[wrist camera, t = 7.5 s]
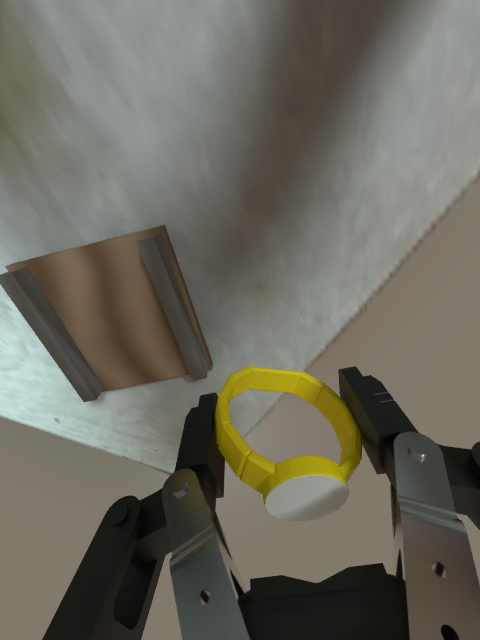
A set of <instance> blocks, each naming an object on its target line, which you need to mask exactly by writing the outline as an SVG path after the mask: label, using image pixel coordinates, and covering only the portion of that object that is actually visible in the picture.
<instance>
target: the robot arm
mask: <svg viewBox="0 0 480 640" xmlns="http://www.w3.org/2000/svg"><path fill="white" fill-rule="evenodd" d="M339 388H340V397H341V399H342V400H343V401H344V402H345V403H346V405H347V406H348V408H349V410H350V412H351V414H352V416H353V418H354V420H355V422H356V424H357V426H358V428H359V431H360V432H361V434H362V444H363V446H364V448H365V451H366V452H367V455H368V457H369V458H370V461H371V463H372V465H373V467H374V469H375V471H376V473H377V474H384V473H386V475H387V476H388V478H389V480H390V482H391V486H390V490H391V511H392V531H393V575H391V574H387V573H386V571H385V568H384V565H383V563H379V564H371V565H362V566H354V567H348V568H346V569H345V570H343V571H341V572H339V573H337V574H335V575H333V576H331V577H329V578H327V579H325V580H324V581H322V582H320V583H312V582H308V581H304V580H300V579H295V578H291V577H286V576H282V575H279V576H272V577H263V578H255V579H250V586H251V590H249V591H247V592H246V589H245V586H244V584H243V581H242V579H241V576H240V574H239V572H238V570H237V567H236V565H235V563H234V560H233V558H232V555H231V552H230V549H229V546H228V544H227V541H226V538H225V535H224V533H223V530H222V527H221V525H220V522H219V519H218V516H217V514H216V512H215V507H216V498H221V497H224V470H225V458H224V457H223V455H222V454H221V452H220V451H219V449H218V447H219V445H217V444H216V435H215V425H214V416H215V411H216V406H217V401H218V396H217V394H216V393H210V394H205V395H201V396H200V400H199V406H198V407H195V408H192V409H191V410H190V412H189V413H188V415H187V416H186V419H185V424H184V429H183V434H182V438H181V443H180V448H179V453H178V458H177V462H176V467H175V471H174V473H173V474H172V475H171V476H170V477H169V478H168V479H167V481H166V482H165V484H164V486H163V488H162V489H160V490H159V491H157V492H155V493H154V494H152V495H150V496H148V497H146V498H144V499H142V500H140V501H139V500H138V499H137V498H136V497H135V496H125V497H123V498H121V499H119V500H118V501H116V502H115V503H114V504H113V505H112V506H111V507H110V508H109V510H108V511H107V513H106V514H105V516H104V518H103V520H102V522H101V524H100V526H99V528H98V530H97V532H96V534H95V536H94V538H93V540H92V542H91V544H90V546H89V548H88V550H87V552H86V554H85V556H84V558H83V560H82V562H81V564H80V566H79V568H78V570H77V572H76V574H75V576H74V578H73V580H72V582H71V583H70V586H69V587H68V590H67V591H66V594H65V596H64V597H63V600H62V601H61V603H60V605H59V607H58V609H57V611H56V613H55V615H54V617H53V619H52V621H51V623H50V625H49V628H48V629H47V631H46V634H45V635H44V637H43V639H42V640H141V638H142V634H143V630H144V627H145V624H146V620H147V617H148V613H149V609H150V607H151V603H152V600H153V596H154V593H155V589H156V586H157V583H158V579H159V575H160V572H161V569H162V565H163V562H164V558H165V555H166V554H168V553H170V552H172V558H171V559H170V572H171V578H172V584H173V590H174V595H175V601H176V606H177V612H178V618H179V623H180V629H181V635H182V640H480V585H479V581H478V576H477V572H476V568H475V564H474V560H473V556H472V552H471V547H470V543H469V539H468V535H467V532H466V529H465V526H464V524H463V522H462V521H461V520H459V519H458V517H457V515H456V513H458V514H464V515H467V516H468V517H469V518H470V519H471V521H472V522H473V523H474V524H475V525H476V526H477V528H478V529H479V530H480V442H477V443H476V444H474V446H473V447H472V450H470V449H462V448H454V447H447V446H442V445H439V444H436V443H435V442H434V441H433V440H431V439H430V438H428V437H427V436H425V435H422V434H420V433H419V432H418V431H417V430H416V428H415V427H414V426H413V424H412V423H411V422H410V421H409V419H408V418H407V416H406V415H405V414H404V413H403V411H402V410H401V408H400V407H399V406H398V404H397V403H396V402H395V401H394V399H393V398H392V396H391V395H390V394H389V393H388V391H387V390H386V388H385V387H384V386H383V384H382V383H381V382H380V381H378V380H377V379H376V378H374V377H372V376H371V375H369V376H364V377H363V376H362V374H361V373H360V371H359V370H358V369H357V367H349V368H344V369H339Z"/></svg>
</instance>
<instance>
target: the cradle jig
mask: <svg viewBox="0 0 480 640" xmlns="http://www.w3.org/2000/svg"><path fill="white" fill-rule="evenodd" d="M5 267H6V268H7V270H8V271H9V272H6V273H4V274H1V275H0V284H1V286H2V287H3V288H4V290H5V291H6V293H7V294H8V295H9V297H10V298H11V300H12V301H13V303H14V304H15V305H16V307H17V308H18V310H19V311H20V312H21V314H22V315H23V317H24V318H25V319H26V321H27V322H28V324H29V325H30V327H31V328H32V329H33V331H34V332H35V334H36V335H37V336H38V338H39V339H40V341H41V342H42V344H43V345H44V346H45V348H46V349H47V351H48V352H49V353H50V355H51V356H52V358H53V359H54V360H55V362H56V363H57V365H58V366H59V368H60V369H61V370H62V372H63V373H64V375H65V376H66V377H67V379H68V380H69V382H70V383H71V385H72V386H73V387H74V389H75V390H76V392H77V393H78V394H79V396H80V397H81V399H82V400H83V401H84V402H88V401H93V400H97V398H98V397H99V395H100V393H101V392H103V391H108V390H113V389H118V388H123V387H128V386H133V385H138V384H143V383H148V382H153V381H158V380H163V379H168V378H173V377H178V376H183V375H188V374H191V377H192V379H193V381H194V380H199V379H204V378H207V371H208V370H212V367H213V362H212V359H211V357H210V354H209V351H208V348H207V345H206V342H205V339H204V336H203V334H202V331H201V328H200V325H199V322H198V319H197V316H196V313H195V311H194V308H193V305H192V302H191V299H190V296H189V293H188V291H187V288H186V285H185V282H184V279H183V276H182V273H181V270H180V268H179V265H178V262H177V259H176V256H175V253H174V250H173V247H172V245H171V242H170V239H169V236H168V233H167V230H166V227H165V225H163V226H159V227H155V228H151V229H147V230H143V231H139V232H135V233H131V234H127V235H124V236H120V237H116V238H112V239H108V240H104V241H100V242H96V243H92V244H88V245H84V246H80V247H76V248H72V249H68V250H64V251H60V252H56V253H52V254H48V255H44V256H41V257H37V258H33V259H29V260H25V261H21V262H17V263H13V264H10V265H8V266H5Z"/></svg>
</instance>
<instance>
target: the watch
mask: <svg viewBox="0 0 480 640" xmlns="http://www.w3.org/2000/svg"><path fill="white" fill-rule="evenodd" d="M247 389H251V390H264V391H276V392H289V393H294V394H296V395H297V396H299V397H301V398H303V399H304V400H306V401H308V402H309V403H311V404H313V405H315V407H316V408H318V410H319V411H320V412H321V413H322V414H323V415H324V417H325V418H326V419H327V420H328V421H329V422H330V423H331V424H332V426H333V428H334V431H335V433H336V436H337V438H338V440H339V443H340V445H341V448H342V452H341V461H340V465H337V463H335V462H333V461H332V460H330V459H328V458H325V457H320V456H299V457H295V458H291V459H288V460H285V461H283V462H281V463H278V464H277V465H276V464H274V463H273V462H271V461H270V460H268V459H266V458H264V457H263V456H261V455H259V454H257V453H256V452H254V451H251V448H250V447H249V446H248V445H247V443H246V442H245V441H244V439H243V438H242V437H241V435H240V434H239V433H238V431H237V430H236V429H235V427H234V426H233V425H232V424H231V419H230V413H229V407H228V405H229V403H230V401H231V399H232V398H234V397H235V396H237V395H239V394H240V393H242V392H244V391H245V390H247ZM214 425H215V435H216V444H217V445H219V447H218V449H219V451H220V452H221V454H222V455H223V457H224V458H225V460H226V461H227V463H228V464H229V465H230V467H231V469H232V470H233V472H234V473H235V475H236V476H239V477H240V479H241V481H243V482H244V483H246V484H247V485H249V486H251V487H252V488H254V489H255V490H257V491H258V492H260V493H262V494H263V498H264V504H265V506H266V509H267V511H268V512H269V513H270V514H272V515H273V516H274V517H277V518H280V519H282V520H288V521H308V520H314V519H319V518H321V517H324V516H327V515H329V514H331V513H333V512H334V511H336V510H338V509H339V508H340V507H341V506H342V505H343V504H344V503H345V502H346V500H347V498H348V496H349V490H348V485H347V481H348V480H349V478H350V477H351V475H352V474H353V472H354V471H355V469H356V468H357V467H358V465H359V464H360V461H361V458H362V434H361V432H360V431H359V428H358V426H357V424H356V422H355V420H354V418H353V416H352V414H351V412H350V410H349V408H348V406H347V405H346V403H345V402H344V401H343V400H342V399H341V398H340V397H339V396H338V395H337V394H336V393H335V392H334V391H333V390H332V389H331V388H330V387H329V386H326V385H325V383H323V382H321V381H319V380H317V379H315V378H314V377H312V376H310V375H308V374H307V373H305V372H303V371H290V370H280V369H270V368H259V367H254V365H251V367H250V366H248V367H246V368H244V369H242V370H240V371H238V372H236V373H234V374H232V375H231V377H228V379H227V381H226V383H225V385H224V386H223V388H222V390H221V392H220V394H219V397H218V401H217V406H216V411H215V416H214Z"/></svg>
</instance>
